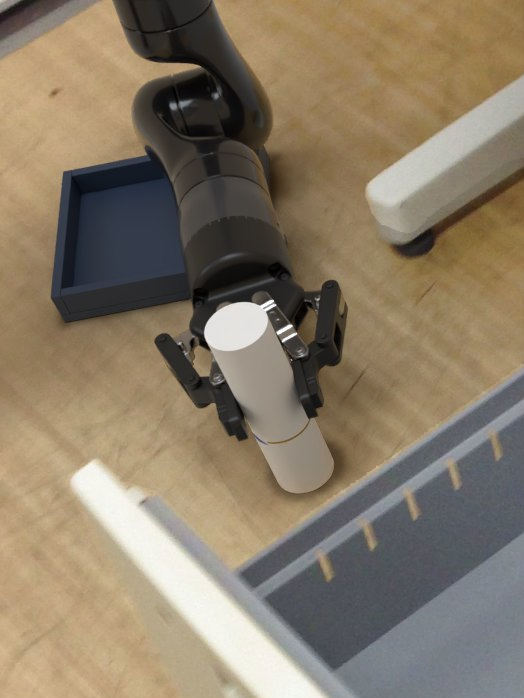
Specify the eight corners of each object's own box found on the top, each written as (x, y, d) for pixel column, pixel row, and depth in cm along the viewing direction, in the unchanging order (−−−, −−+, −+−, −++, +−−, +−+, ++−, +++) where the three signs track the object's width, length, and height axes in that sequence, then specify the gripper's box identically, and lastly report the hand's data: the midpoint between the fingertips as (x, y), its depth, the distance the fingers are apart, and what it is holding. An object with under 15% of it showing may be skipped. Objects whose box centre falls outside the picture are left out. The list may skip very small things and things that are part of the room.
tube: (342, 450, 130) (278, 305, 118) (321, 497, 128) (252, 354, 115) (289, 443, 131) (220, 298, 119) (267, 489, 129) (193, 346, 117)
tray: (64, 322, 142) (50, 297, 139) (76, 196, 150) (62, 171, 148) (269, 283, 141) (257, 257, 138) (269, 158, 149) (259, 132, 147)
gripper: (121, 246, 127) (152, 417, 118) (314, 185, 128) (361, 350, 118) (159, 320, 133) (192, 488, 124) (343, 261, 134) (390, 424, 124)
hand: (274, 420), depth 121 cm, fingers closed on tube, 4 cm apart
